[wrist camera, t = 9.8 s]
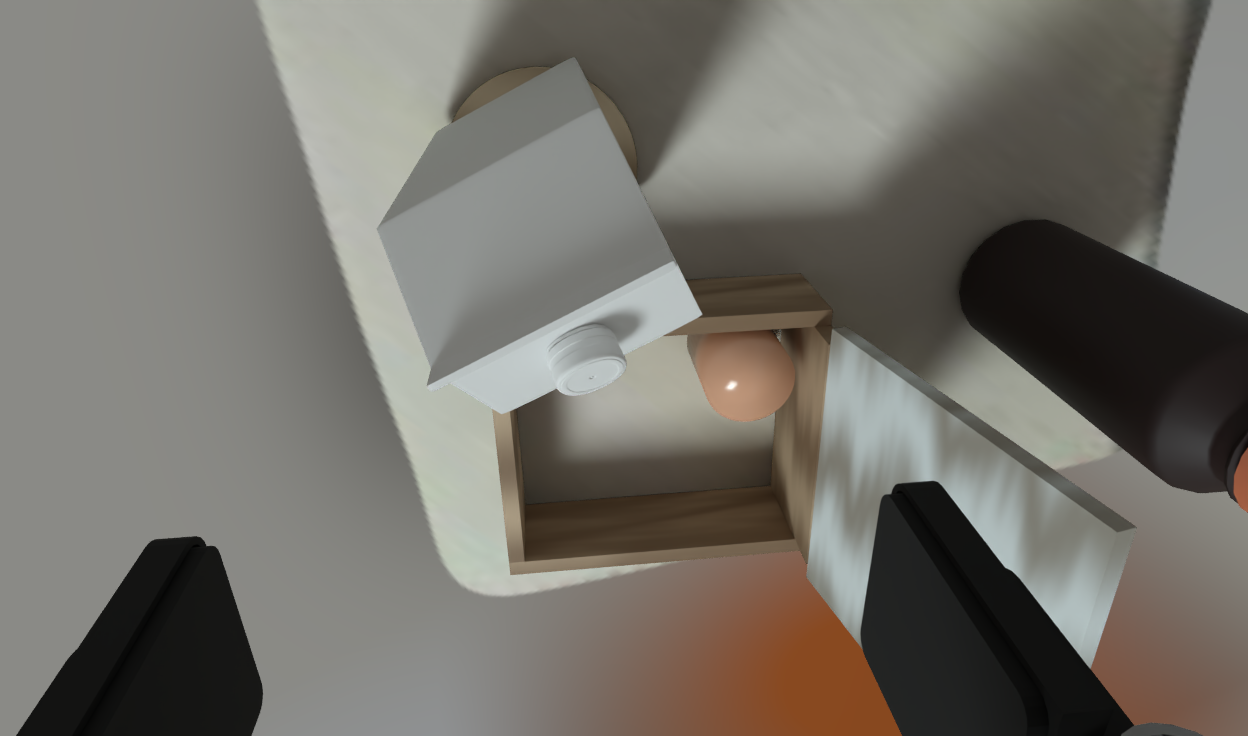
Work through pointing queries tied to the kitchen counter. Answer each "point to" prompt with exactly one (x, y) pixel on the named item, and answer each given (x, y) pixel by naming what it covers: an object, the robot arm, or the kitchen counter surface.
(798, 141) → the kitchen counter surface
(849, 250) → the kitchen counter surface
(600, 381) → the milk carton
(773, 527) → the box
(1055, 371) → the bottle
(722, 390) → the tan rounded ovoid
